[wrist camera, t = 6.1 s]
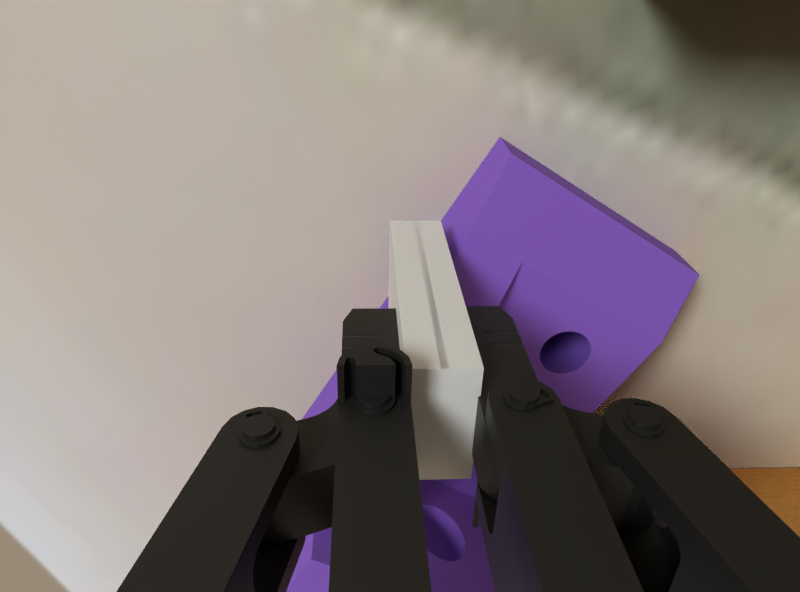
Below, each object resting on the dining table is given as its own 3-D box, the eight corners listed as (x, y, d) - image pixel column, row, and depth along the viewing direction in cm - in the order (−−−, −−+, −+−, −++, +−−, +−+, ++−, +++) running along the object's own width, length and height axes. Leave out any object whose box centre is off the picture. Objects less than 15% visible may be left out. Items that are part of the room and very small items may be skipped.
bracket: (456, 491, 24) (486, 672, 18) (298, 424, 22) (273, 605, 16) (675, 251, 19) (816, 391, 13) (499, 137, 17) (572, 241, 11)
